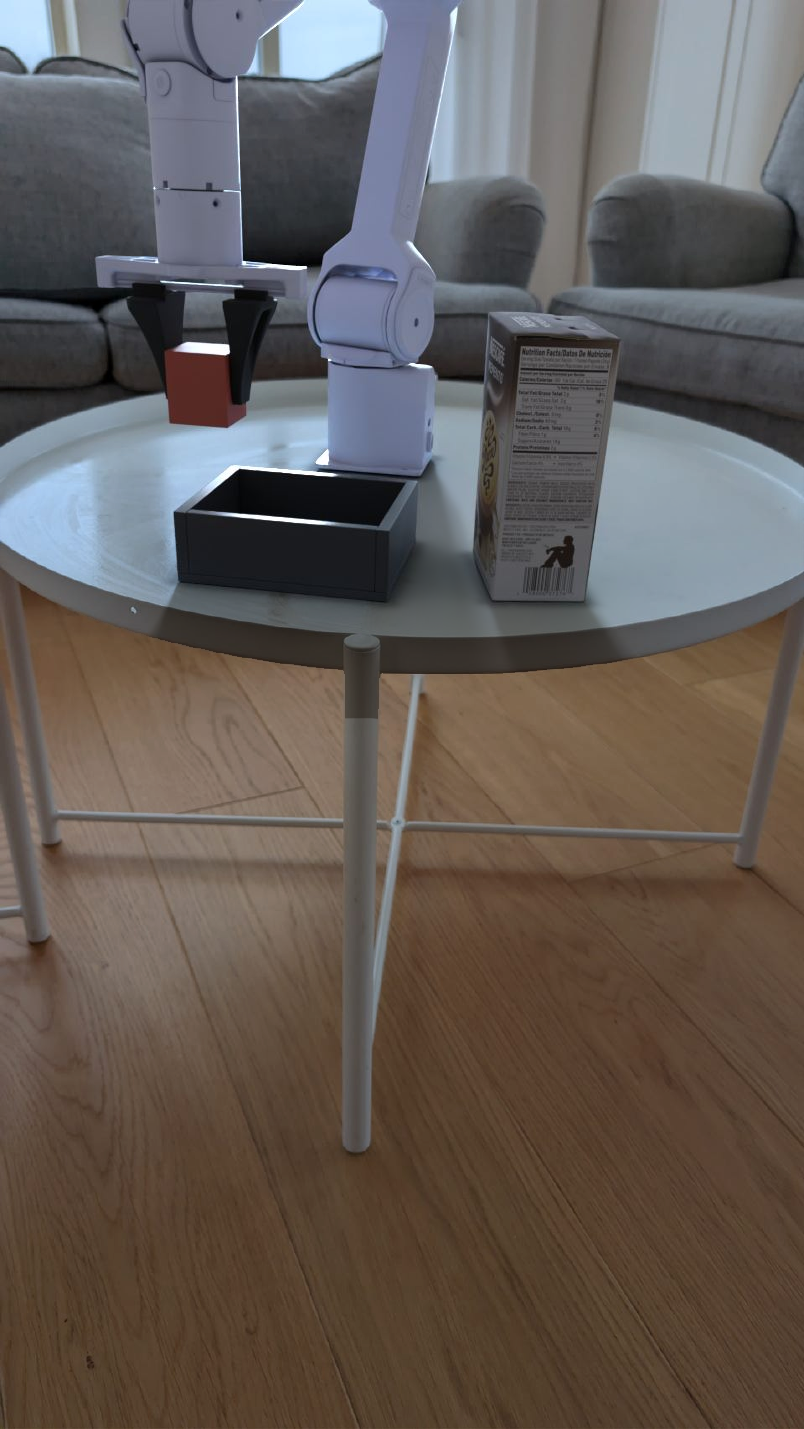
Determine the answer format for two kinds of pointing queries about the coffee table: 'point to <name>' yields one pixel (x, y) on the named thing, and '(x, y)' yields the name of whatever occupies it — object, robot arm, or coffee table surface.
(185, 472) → the coffee table surface
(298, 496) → the open box
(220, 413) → the block
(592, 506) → the grey cardboard tall box
